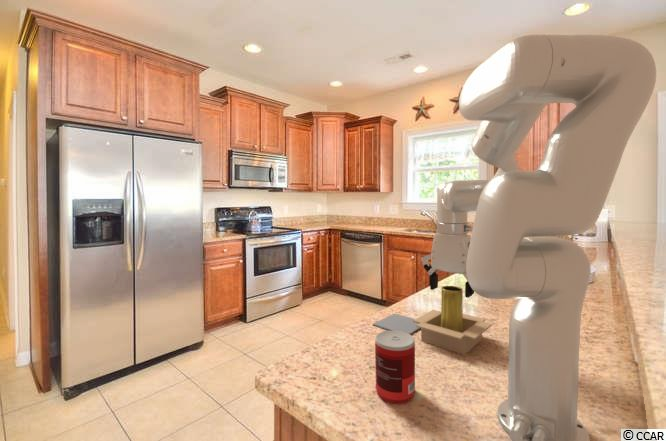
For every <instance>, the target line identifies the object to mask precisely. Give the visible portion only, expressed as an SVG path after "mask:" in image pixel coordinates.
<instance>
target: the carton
mask: <svg viewBox="0 0 666 441" xmlns="http://www.w3.org/2000/svg"><path fill="white" fill-rule="evenodd" d="M414 319H415V320H413V322H415V323H419V324H418V325H416V327H418V328H421V329H420V331H421V335H420V336H421V337H420V338H421V339H420V340H421V342H424V343H427V344H429V345H433V346H436V347H439V348H442V349H445V350H448V351H451V352H455V353H456V354H460V355H464V356H465V355H466V354H467V353H469V351H471V350H472V349H473V348H474V347H476V346H477V344H479V343H480V342H481V341H482V340H483V334H484V333H485V332H486V331H487V330H489V329H490V328H491V327H492V326H493V323H489V322H486V318H483V317H479V316H474V315H471V314H467V313H463V333H461V332H457V331H454V330H450V329H446V328H443V327H441V310H437V309H432V310H429V311H428V312H425V314H422V315H420V316H419V317H417V318H414Z"/></svg>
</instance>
